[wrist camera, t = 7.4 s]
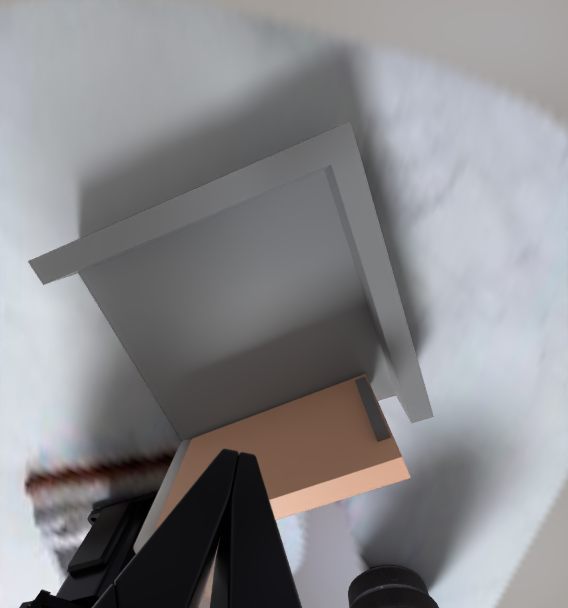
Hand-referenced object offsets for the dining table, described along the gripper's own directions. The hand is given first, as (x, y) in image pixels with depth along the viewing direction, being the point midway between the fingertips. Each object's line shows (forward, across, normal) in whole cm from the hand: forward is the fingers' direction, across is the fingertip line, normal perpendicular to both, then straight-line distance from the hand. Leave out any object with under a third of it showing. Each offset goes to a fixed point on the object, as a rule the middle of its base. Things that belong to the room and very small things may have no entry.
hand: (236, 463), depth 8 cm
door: (+10, -2, +6) cm, 12 cm away
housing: (+11, +1, +1) cm, 11 cm away
